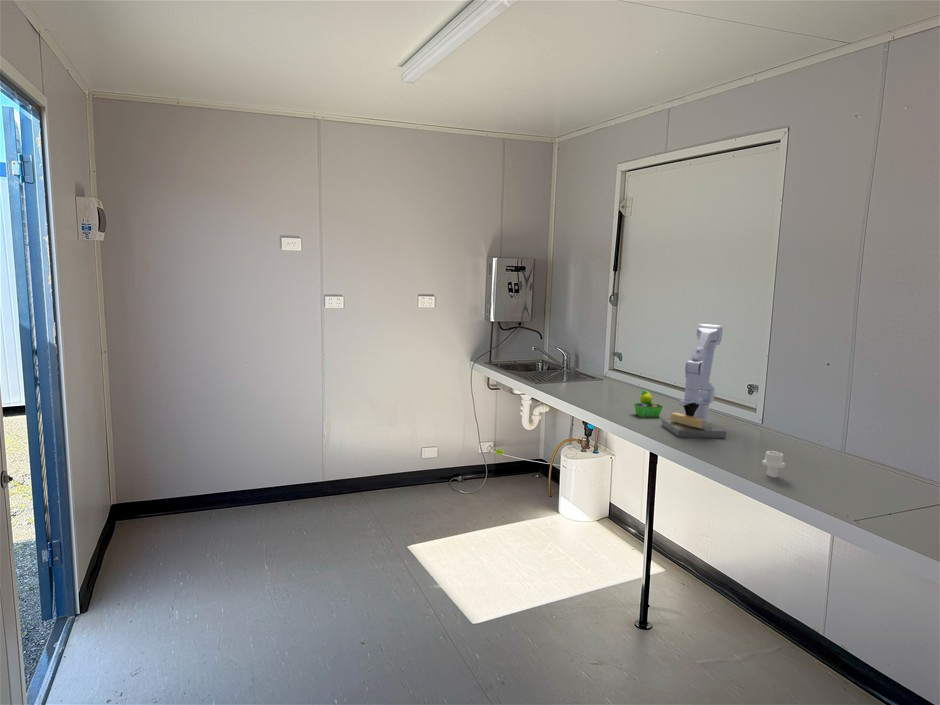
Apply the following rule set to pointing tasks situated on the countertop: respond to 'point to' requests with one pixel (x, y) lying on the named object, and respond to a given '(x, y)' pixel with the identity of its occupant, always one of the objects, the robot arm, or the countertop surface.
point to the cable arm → (691, 421)
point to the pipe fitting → (773, 462)
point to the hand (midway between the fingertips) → (689, 420)
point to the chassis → (692, 430)
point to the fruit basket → (647, 406)
